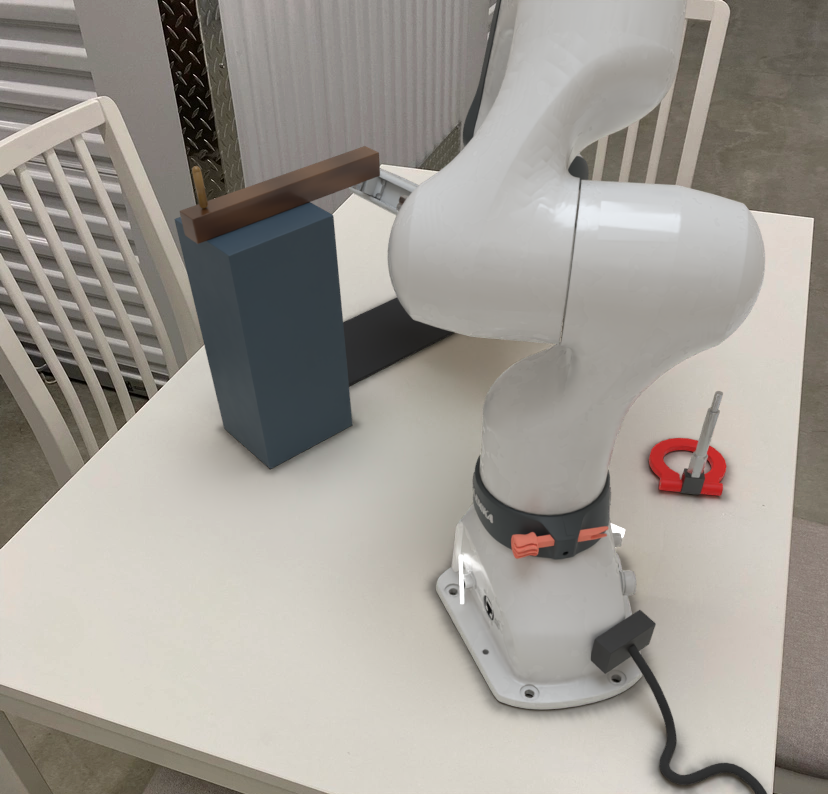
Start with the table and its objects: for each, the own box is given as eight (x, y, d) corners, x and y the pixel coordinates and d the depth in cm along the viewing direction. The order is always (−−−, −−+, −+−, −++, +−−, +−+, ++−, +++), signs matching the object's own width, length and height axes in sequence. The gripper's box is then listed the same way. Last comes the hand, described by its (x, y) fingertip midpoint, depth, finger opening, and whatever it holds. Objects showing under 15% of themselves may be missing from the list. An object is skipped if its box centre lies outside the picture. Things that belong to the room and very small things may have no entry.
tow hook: (646, 442, 96) (650, 493, 90) (670, 345, 87) (676, 393, 81) (719, 448, 95) (729, 500, 89) (751, 351, 86) (764, 401, 80)
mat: (399, 298, 118) (399, 296, 118) (455, 332, 112) (455, 329, 112) (285, 351, 110) (285, 348, 110) (339, 391, 104) (339, 388, 103)
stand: (304, 388, 104) (275, 182, 85) (352, 425, 99) (333, 214, 80) (223, 428, 99) (173, 218, 80) (270, 469, 94) (228, 255, 75)
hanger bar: (366, 169, 87) (362, 106, 82) (380, 176, 86) (377, 112, 81) (184, 235, 77) (169, 168, 73) (197, 244, 76) (182, 177, 72)
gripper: (407, 165, 102) (325, 132, 92) (526, 220, 91) (448, 189, 81) (390, 216, 105) (308, 189, 94) (503, 275, 94) (425, 252, 84)
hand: (373, 190), depth 87 cm, fingers open, 8 cm apart
